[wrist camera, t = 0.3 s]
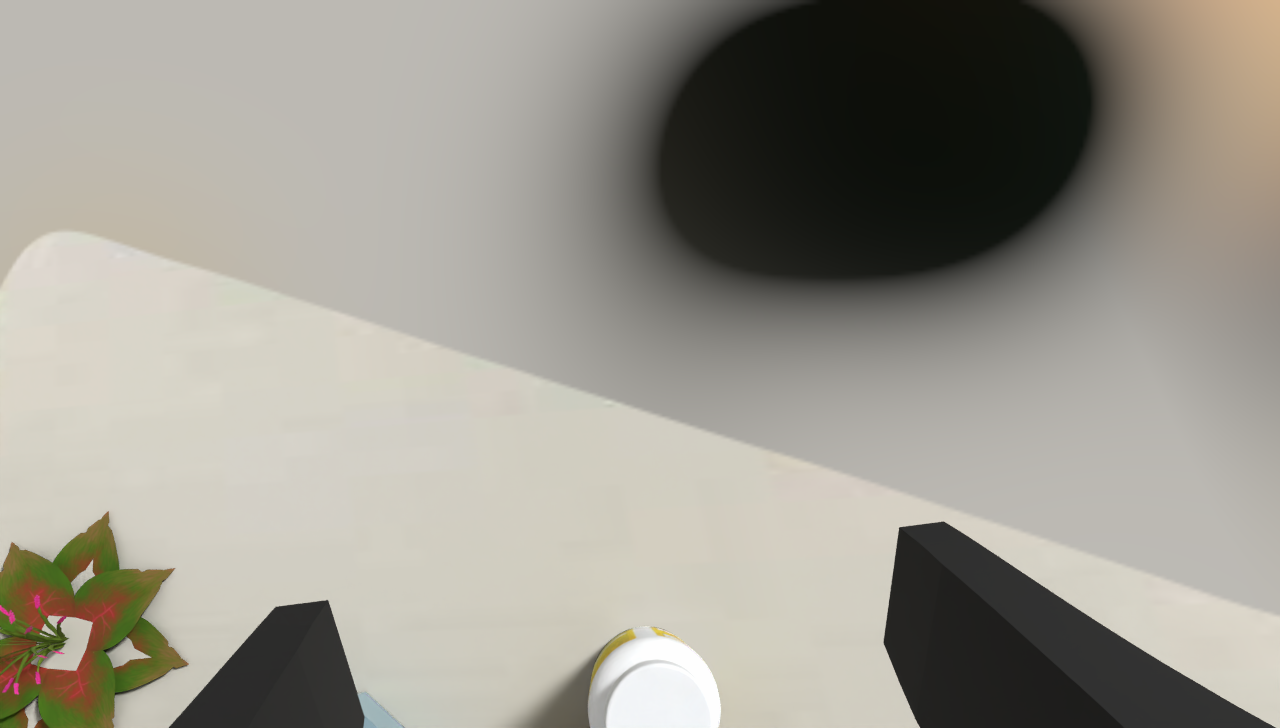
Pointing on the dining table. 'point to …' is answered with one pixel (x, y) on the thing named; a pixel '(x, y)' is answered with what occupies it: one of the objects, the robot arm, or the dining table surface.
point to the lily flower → (21, 608)
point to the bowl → (376, 714)
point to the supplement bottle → (651, 684)
